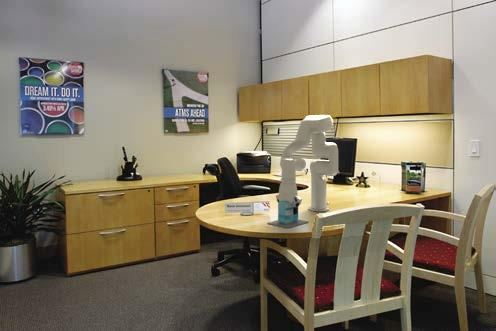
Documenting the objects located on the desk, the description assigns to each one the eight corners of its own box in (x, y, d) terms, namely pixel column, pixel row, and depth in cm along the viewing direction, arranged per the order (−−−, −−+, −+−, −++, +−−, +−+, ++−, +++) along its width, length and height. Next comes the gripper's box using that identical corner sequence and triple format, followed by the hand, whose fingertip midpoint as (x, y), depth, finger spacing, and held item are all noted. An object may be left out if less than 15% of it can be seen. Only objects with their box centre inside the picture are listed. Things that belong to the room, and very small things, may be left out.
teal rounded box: (284, 224, 208) (284, 202, 207) (277, 223, 212) (277, 201, 210) (298, 220, 217) (298, 199, 216) (292, 219, 220) (292, 198, 219)
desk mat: (288, 218, 225) (288, 217, 225) (308, 222, 215) (308, 221, 215) (267, 223, 213) (267, 222, 213) (287, 228, 203) (287, 227, 203)
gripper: (271, 180, 215) (271, 211, 217) (296, 183, 203) (296, 216, 205) (280, 179, 221) (280, 209, 222) (305, 182, 208) (305, 214, 210)
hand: (288, 212), depth 214 cm, fingers open, 9 cm apart
